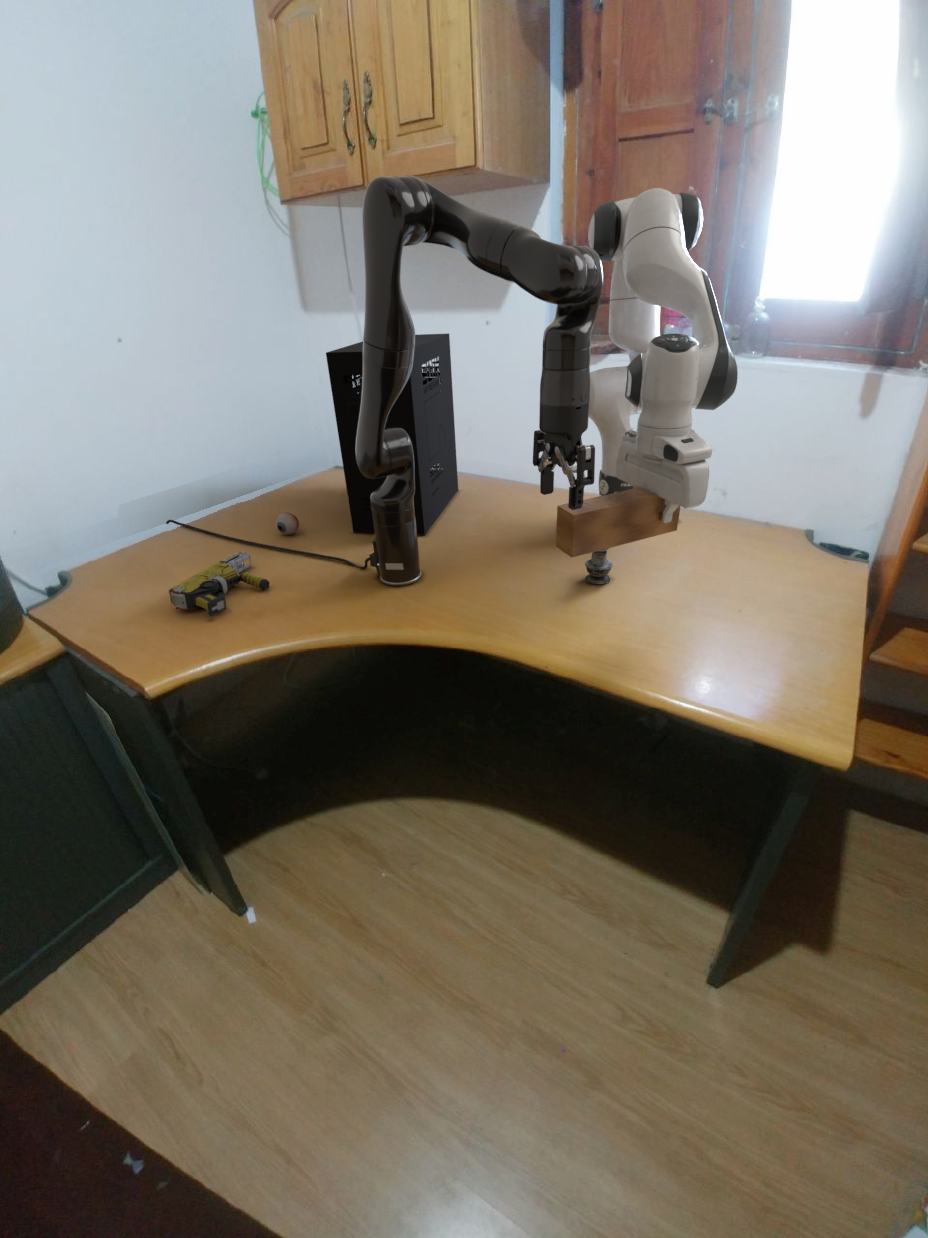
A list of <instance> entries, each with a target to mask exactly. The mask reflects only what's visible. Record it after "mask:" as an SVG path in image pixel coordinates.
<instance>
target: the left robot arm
mask: <svg viewBox="0 0 928 1238" xmlns="http://www.w3.org/2000/svg"><path fill="white" fill-rule="evenodd" d="M361 214H362V215H361V218H362V219H361V220H362V222H361V223H362V225H361V226H362V243H363V244H362V245H363V263H364V264H363V265H364V317H363V318H364V321H363V332H362V333H363V335H362V342H363V370H362V393H361V405H360V413H359V420H358V427H357V434H356V445H355V453H356V461H357V465H358V468H359V470H360V472H361V473H362V474H363V475H364V476H365V477H366V478H369V479H376V478H382V477H385V476H387V477H386V479H385V480H384V482H383V483H382V484H381V485H380V486H379V487H378V488H377V489H376V490H374V491H373V492H372V494H371V496H370V502H371V509H372V517H373V524H374V531H375V533H374V538H373V539H372V549H373V552H372V553H370V554H369V555H368V557H367V558H365V560H364V565H363V566H359V565H357V564H355V563H353V562H351V561H350V560H348V559H345V558H342V557H338V556H337V557H336V556H331V555H326V554H320V553H314V552H309V551H302V550H297V549H292V548H285V547H282V546H281V547H280V546H275V545H268V544H264V543H260V542H256V541H255V542H254V541H249V540H245V539H240V538H236V537H233V536H230V535H229V536H228V535H224V534H220V533H216V532H213V531H211V530H210V531H209V530H206V529H202V528H198V527H196V526H192V525H189V524H186V523H183V522H179V521H176V520H174V519H168V520H167V521H166V522H165V525H169V524H170V523H172V524H175V525H178V526H181V527H185V528H188V529H191V530H194V531H198V532H201V533H205V534H208V535H212V536H215V537H218V538H223V539H227V540H230V541H234V542H238V543H244V544H247V545H253V546H257V547H261V548H262V547H263V548H266V549H267V548H268V549H273V550H277V551H283V552H289V553H295V554H300V555H306V556H310V557H317V558H322V559H327V560H333V561H339V562H342V563H345V564H347V565H349V566H352V567H353V568H357V569H359V570H366V569H367V568H368V565H369V564H370V567H373V568H375V569H376V577H377V579H379V580H380V582H382V583H383V584H385V585H386V586H387V585H388V586H391V587H401V586H408V585H411V584H414V583H416V582H418V581H419V580H420V579H421V578H422V571H421V570H422V569H421V562H420V561H421V560H420V551H419V541H418V535H417V529H416V519H415V509H414V494H415V471H414V453H413V447H412V443H411V440H410V437H409V435H408V434H407V432H406V431H405V430H404V429H403V428H401V427H389V428H385V426H386V421H387V418H388V415H389V413H390V410H391V408H392V407H393V405H394V403H395V401H396V400H397V398H398V397H399V395H400V393H401V392H402V390H403V388H404V387H405V385H406V383H407V381H408V379H409V377H410V374H411V371H412V367H413V358H414V348H415V335H416V328H415V325H414V321H413V318H412V316H411V313H410V310H409V308H408V305H407V303H406V300H405V298H404V294H403V289H402V282H401V274H402V273H401V271H402V270H401V269H402V257H403V250H404V247H409V246H416V245H419V244H433V245H439V246H444V247H447V248H451V249H453V250H455V251H457V252H458V253H459V254H461V255H462V256H463V257H464V258H465V259H466V260H467V261H468V263H470V264H471V265H472V266H474V267H476V268H477V269H479V270H481V271H482V272H484V273H487V274H488V275H492V276H494V277H496V278H499V279H501V280H503V281H507V282H509V283H512V284H515V285H517V286H518V287H519V288H520V289H522V290H523V291H524V292H526V293H528V294H529V295H531V296H532V297H534V298H536V299H538V300H540V301H542V302H545V303H548V304H551V305H556V310H555V315H554V319H553V321H552V323H550V324H549V325H547V326H546V328H545V330H544V331H543V335H542V350H541V351H542V355H541V358H542V359H541V360H542V361H541V375H540V383H539V418H538V419H539V425H538V428H539V429H538V430H537V429H536V430H534V431H533V443H532V444H533V447H532V465H533V466H534V467H537V470H538V472H539V473H540V481H539V482H540V483H539V484H540V485H539V487H540V489H539V491H540V494H542V495H543V496H546V495H551V494H553V493H554V486H555V485H554V484H555V471H554V470H555V468H556V466H558V467H559V468H561V471H562V473H563V475H565V476H566V478H567V480H568V483H569V487H568V503H569V505H568V507H569V508H570V509H571V510H575V509H580V508H581V507H582V505H583V500H584V497H585V495H584V494H585V487H586V486H591V485H593V484H595V471H596V470H595V468H596V467H595V466H596V446H595V445H594V444H590V445H585V444H583V440H582V435H583V434H584V432H586V431H587V430H588V428H589V419H590V418H589V400H590V372H591V370H590V369H591V353H592V333H593V331H594V330H593V329H594V326H595V322H596V319H597V315H598V311H599V307H600V303H601V298H602V292H603V286H604V269H603V264H602V263H603V262H602V261H601V259H600V257H599V255H598V254H597V252H596V251H595V250H594V249H593V248H591V247H590V245H589V246H588V245H585V244H571V245H568V244H567V245H564V244H559V243H555V242H552V241H549V240H545V239H543V238H541V236H540V235H539V234H538V233H537V232H535V231H534V230H532V229H530V228H528V227H525V226H522V225H521V224H517V223H513V222H511V221H508V220H505V219H503V218H501V217H497V216H493V215H491V214H489V213H485V212H483V211H480V210H478V209H474V208H472V207H470V206H468V205H466V204H464V203H461V202H460V201H458V200H456V199H454V198H453V197H452V196H450V195H448V194H447V193H445V192H444V191H442V190H440V189H439V188H437V187H435V186H434V185H433V184H430V183H429V182H427V181H425V180H424V179H422V178H421V177H418V176H415V175H383V176H378V177H377V176H376V177H375V178H373V179H372V180H371V181H370V182H369V184H368V185H367V186H366V189H365V191H364V195H363V200H362V211H361ZM540 453H542V454H541V456H540ZM575 464H576V465H575ZM585 471H587V473H585ZM575 474H576V476H575Z"/></svg>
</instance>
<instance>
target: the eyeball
mask: <svg viewBox="0 0 928 1238" xmlns="http://www.w3.org/2000/svg"><path fill="white" fill-rule="evenodd" d="M299 525H300V522H299V519H298V517H297V516H296V515H295V514H294V513H292V512H287V511H286V512H282V513H280V514H279V515H278V516H277V517H276V520H275V527H276V529H277V530H278V531H279V532H280V533H281V534H282V535H285V536H286V535H287V536H289V535H293V534H295V533H296V532H297V531H298V529H299Z"/></svg>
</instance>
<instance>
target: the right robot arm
mask: <svg viewBox="0 0 928 1238" xmlns="http://www.w3.org/2000/svg"><path fill="white" fill-rule="evenodd" d="M703 214H704V213H703V208H702V202H701V200H700V198H699V197H698V196H697V195H696V194H694V193H689V192H679V194H677V193H672V191H669V190H667V189H666V188H662V187H654V188H649V189H647V190H645V191H642V192H641V193H639V194H638V195H637V196H636V197H635V196H633V197H628V198H624V199H620V200H616V201H614V199H613V200H609V201H606V202H603V203H600V204H598V206H597V207H596V209H595V210H594V211H593V213H592V216H591V219H590V222H589V225H588V230H587V237H588V238H587V239H588V245H589V247H591V248H593V249H594V250H595V251H596V252H597V254H598V255H599V257H600V259H601V262H605V263H611V262H612V261H614V263H613V269H612V274H611V281H610V291H609V312H608V313H609V314H608V336H609V339H610V341H611V342H612V343H613V344H614V345H615V346H617V348H620V349H622V350H624V351H626V353H627V355H628V359H629V364H628V365H623V366H613V367H612V366H611V367H602V368H599V369H596V370H594V371H590V400H589V418H588V419H590V420H591V421H592V422H593V424H594V425H595V426H596V428H597V431H598V432H599V433H598V434H599V436H600V441H601V468H600V470H599V474H598V492H599V493H598V497H599V496H603V495H608V494H612V493H617V492H621V491H626V490H630V489H635V488H639V487H640V488H642V489H644V490H647V491H649V492H651V493H653V494H656V495H658V496H659V497H661V498H663V499H665V505H667V506H666V508H665V510H664V511H661V512H660V514H659V516H660V517H659V520H660V521H662V522H664V523H668V522H671V520H672V516H673V512H674V511H675V510H676V508H677V507H678V506H680V508H684V509H691V508H696V507H699V506H701V505H702V504H703V503H704V502H705V500H706V499H707V493H708V487H709V481H710V466H709V463H708V461H707V460H708V459H710V458H712V454H713V447H712V446H711V444H709V443H708V442H707V441H706V439H704V438H702V437H701V436H700V435H699V434H698V433H697V432H696V431H695V430H694V429H693V415H692V413H693V411H692V409H695V410H703V411H705V410H706V411H715V410H717V409H718V408H719V407H721V406H722V405H724V404H725V403H726V402H727V401H728V400H729V399H730V398H731V397H732V396H733V395H734V393H735V391H736V388H737V385H738V373H739V372H738V365H737V360H736V357H735V355H734V353H733V350H732V349H731V347H730V345H729V342H728V339H727V335H726V331H725V328H724V324H723V320H722V317H721V314H720V309H719V306H718V303H717V298H716V295H715V292H714V289H713V285H712V283H711V282H712V281H711V280H710V276H709V275H708V273H707V271H706V270H704V269H703V268H701V267H699V266H698V265H697V264H696V263H695V262H694V260H693V259H692V257H691V256H690V254H689V252H690V251H691V250H692V249H693V248H694V247H695V246H696V245H697V243H698V240H699V237H700V235H701V232H702V229H703V222H704V215H703ZM661 307H662V308H665V309H668V310H671V311H674V312H675V313H678V314H680V315H682V316H683V317H685V318H686V319H687V321H689V324H690V327H691V331H692V335H693V336H691V335H688V334H683V333H665V334H661ZM632 415H633V416H634V415H639V416H638V418H637V425H636V428H633V427H632V426H631V421H630V420H631V419H630V418H631V416H632Z"/></svg>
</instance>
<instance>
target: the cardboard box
mask: <svg viewBox="0 0 928 1238" xmlns="http://www.w3.org/2000/svg"><path fill="white" fill-rule="evenodd" d="M450 342H451V340H450V333H429V334H428V333H424V334H423V333H422V334H415V348H414V358H413V367H412V371H411V374H410V377H409V379H408V381H407V383H406V385H405V387H404V388H403V390H402V392H401V393H400V395H399V397H398V398H397V400H396V401H395V403H394V405H393V407H392V408H391V410H390V413H389V415H388V418H387V421H386V426H385V428H389V427H401V428H403V429H404V430H405V431H406V432H407V434H408V435H409V437H410V440H411V443H412V447H413V453H414V471H415V494H414V509H415V519H416V529H417V536H426V534H428V532H429V531H430V529H431V528H432V526H433V525H434V524H435V522H436V521H437V520H438V519H439V517H440V515H441V514H442V513H443V512H444V510H445V509H446V507H447V506H448V505H449V503H450V502H451V501H452V500H453V498H454V497H455V495H456V494H457V493H458V491H459V481H458V480H459V479H458V461H457V446H456V444H457V443H456V427H455V409H454V407H455V406H454V393H453V392H454V390H453V375H452V357H451V343H450ZM325 356H326V362H327V364H326V365H327V370H328V374H329V383H330V390H331V396H332V402H333V409H334V415H335V421H336V428H337V429H336V430H337V435H338V441H339V448H340V454H341V455H340V456H341V461H342V469H343V474H344V482H345V487H346V493H347V499H348V508H349V513H350V514H349V515H350V520H351V526H352V527H351V528H352V532H353V533H355V534H356V533H357V534H375V531H374V524H373V517H372V509H371V502H370V496H371V494H372V492H373V491H374V490H376V489H377V488H378V487H379V486H380V485H381V484H382V483H383V482H384V480H385V479H386V477H387V476H385V477H382V478H376V479H369V478H366V477H365V476H364V475H363V474H362V473H361V472H360V470H359V468H358V465H357V461H356V453H355V445H356V434H357V427H358V420H359V413H360V405H361V393H362V370H363V341H360V342H359V341H358V342H355V343H353V344H350V345H347V346H343V347H339V348H337V349H333V350H330V351H327V352H325ZM433 360H434V361H433ZM423 365H425V366H423Z"/></svg>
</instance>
